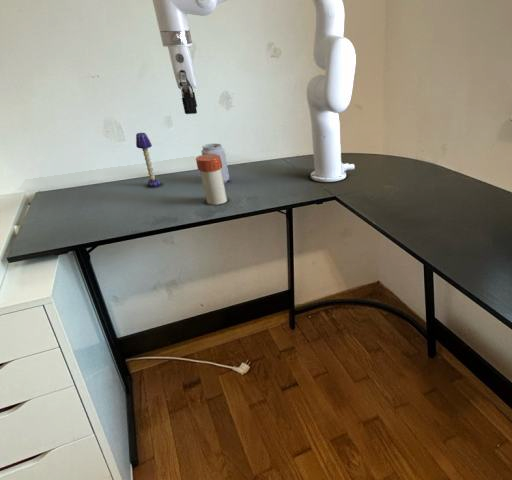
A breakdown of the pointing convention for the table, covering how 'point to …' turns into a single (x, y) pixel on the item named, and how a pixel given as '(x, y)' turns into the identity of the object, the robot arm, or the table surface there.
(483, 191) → the table surface
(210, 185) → the jar
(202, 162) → the jar lid
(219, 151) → the can
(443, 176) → the table surface
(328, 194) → the table surface
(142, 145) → the toy lamp
